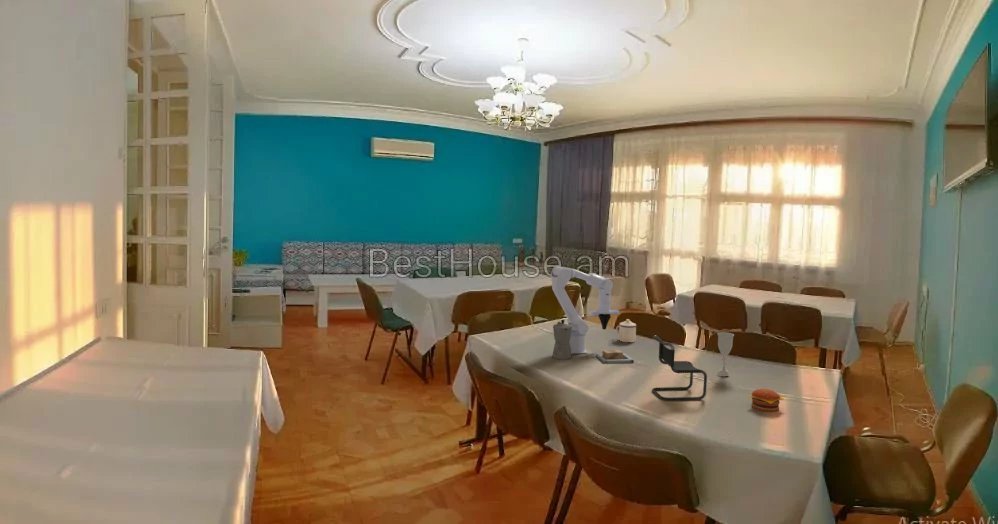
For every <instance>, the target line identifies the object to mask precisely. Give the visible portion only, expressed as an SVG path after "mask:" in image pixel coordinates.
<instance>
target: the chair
mask: <svg viewBox="0 0 998 524" xmlns="http://www.w3.org/2000/svg"><path fill="white" fill-rule="evenodd" d="M652 339H653V340H655V341H657V342H658V344H659V345H658V360H659V362H660V363H661V364H663V365H667V366H668V367H669V368H670V369H671V371H672V372H674V373H677V374H689V384H688V386H678V387H677V386H676V387H675V386H674V387H673V386H672V387H671V386H670V387H654V388H652V389H651V391H652V393H653V394H654V395H655V396H656V397H658V398H659V399H660V400H663V401H670V402H671V401H672V402H673V401H700V400H704V398H705V397H706V395H707V386H708V385H707V383H708V376H707V375H708V374H707V372H706V371H705V370H703V369H699V368H697V367H695V366H694V364H693V363H692V362H691V361H690V360H689V361H688V360H675V353H676V352H675V346H674V345H673V344H672V343H671V342H665V341H664V340H663V339H662V338H661V336H659V335H652ZM668 347H670V348H671V349H670V348H668ZM694 374H703V390H702V394H701V395H700V396H695V397H694V396H693V397H692V396H687V397H686V396H685V397H684V396H683V397H682V396H680V397H666V396H662V395H661V394H659V393H658V392H657V391H687V390H690V389H691V388H692V386H693V380H694Z"/></svg>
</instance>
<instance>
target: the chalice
mask: <svg viewBox="0 0 998 524" xmlns="http://www.w3.org/2000/svg"><path fill="white" fill-rule="evenodd" d="M717 336H718V337H717V346H718V349H719V352H720V354H721V355H722V356H723V358H722V363H721V365H722V367H721V368H720V369H719V370H718V373H717V374H718V375H720V376H719V377H721V376H729V375H730V373H729V371H728V369H727V368H726V366H727V364H726V361H727V359H726V357H727V356H729V354H730V352H731V351H732V348H733V345H734V344H733V342H734V337H735V334H734V333H731V332H727V331H725V332H724V331H721V332H717ZM718 375H717V376H718ZM729 377H730V376H729Z"/></svg>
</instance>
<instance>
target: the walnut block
mask: <svg viewBox="0 0 998 524" xmlns="http://www.w3.org/2000/svg"><path fill="white" fill-rule="evenodd" d="M623 353H624V352H623V351H622V350H620V349H603V350H602V354H601V355H602V356H603V357H604V358H605V359H606V360H618V359H624V357H623Z"/></svg>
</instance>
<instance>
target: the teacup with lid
mask: <svg viewBox="0 0 998 524" xmlns="http://www.w3.org/2000/svg"><path fill="white" fill-rule="evenodd" d="M615 330H616V333H617V335H618V340H620V342H621V341H622V342H621V343H627V342H631V343H635V342H636V339H637V338H636V336H637V324H636V323H634V322H632V321H631V320H630V319H629V318H626V320H625V321H621V322H619V324H618V325H617V326H616V327H615Z"/></svg>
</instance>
